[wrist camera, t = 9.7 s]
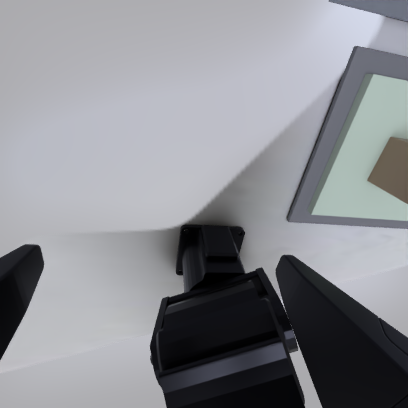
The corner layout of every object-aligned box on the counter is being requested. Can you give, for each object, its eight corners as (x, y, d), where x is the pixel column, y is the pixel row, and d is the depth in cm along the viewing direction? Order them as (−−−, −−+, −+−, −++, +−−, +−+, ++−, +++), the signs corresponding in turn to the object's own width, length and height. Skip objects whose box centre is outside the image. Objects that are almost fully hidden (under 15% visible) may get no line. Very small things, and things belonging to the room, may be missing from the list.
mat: (406, 226, 27) (410, 229, 26) (287, 219, 24) (288, 221, 24) (509, 80, 20) (515, 80, 19) (354, 46, 17) (358, 46, 16)
